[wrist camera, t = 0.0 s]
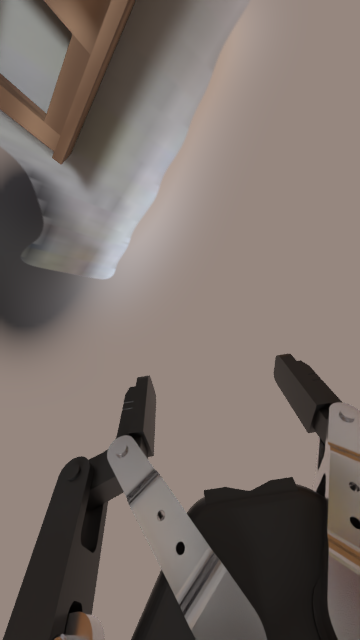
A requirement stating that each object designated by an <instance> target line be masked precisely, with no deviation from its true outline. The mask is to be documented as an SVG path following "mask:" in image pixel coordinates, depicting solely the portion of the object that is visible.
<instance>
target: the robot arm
mask: <svg viewBox="0 0 360 640" xmlns="http://www.w3.org/2000/svg"><path fill="white" fill-rule="evenodd" d="M274 378H275V381H276V383H277V384H278V386H279V388H280V389H281V391H282V392H283V394H284V396H285V397H286V399H287V400H288V402H289V404H290V405H291V407H292V408H293V410H294V411H295V413H296V415H297V416H298V418H299V419H300V421H301V423H302V424H303V426H304V427H305V429H306V430H307V432H308V433H312V432H316V433H317V434H318V436H319V439H318V449H317V461H316V462H317V463H316V473H315V479H314V483H313V490H311V489H309V488H307V487H304V486H301V485H297V484H295V482H294V480H293V477H290V478H283V479H277V480H270V481H268V482H267V483H265V484H263V485H261V486H259V487H257V488H255V489H254V490H251V491H245V490H239V489H233V488H227V487H223V488H217V489H210V490H204V495H205V497H204V498H202V499H200V500H199V501H197V502H196V503H195V504H194V505H193V506H192V507H191V508H190V509H189V511H188V512H187V513H186V512H185V510H184V509H183V507H182V506H181V505H180V503H179V502H178V500H177V499H176V497H175V496H174V494H173V493H172V492H171V490H170V489H169V487H168V486H167V484H166V483H165V482H164V480H163V479H162V477H161V476H160V474H159V473H158V472H157V471H156V470H155V469H154V468H153V467H152V465H151V464H150V462H149V461H148V457H150V456H154V435H155V434H154V433H155V411H156V395H155V391H154V387H153V384H152V381H151V378H150V376H144V377H138V378H137V383H136V386H135V387H130V388H129V390H128V392H127V393H126V395H125V400H124V405H123V411H122V414H121V419H120V424H119V428H118V433H117V437H116V439H115V440H114V441H113V443H112V444H111V445H110V447H109V449H108V450H106V451H105V452H104V453H101V454H99V455H97V456H96V457H93V458H91V459H89V460H88V459H87V458H85V457H77V458H74V459H72V460H71V461H70V462H68V463H67V464H66V465H65V467H64V468H63V469H62V471H61V473H60V475H59V477H58V480H57V483H56V486H55V489H54V492H53V495H52V498H51V501H50V503H49V507H48V509H47V512H46V515H45V518H44V521H43V524H42V527H41V530H40V533H39V536H38V538H37V541H36V544H35V547H34V550H33V553H32V556H31V559H30V562H29V565H28V568H27V571H26V574H25V576H24V579H23V582H22V585H21V588H20V591H19V594H18V597H17V600H16V603H15V606H14V609H13V611H12V614H11V617H10V620H9V623H8V626H7V629H6V632H5V635H4V638H3V640H104V631H103V627H102V624H101V622H100V621H99V619H98V618H97V617H95V616H93V615H92V608H93V601H94V594H95V587H96V581H97V574H98V567H99V560H100V553H101V546H102V539H103V533H104V526H105V519H106V512H107V505H108V501H109V500H111V499H112V498H114V497H116V496H118V495H119V494H121V493H123V492H124V493H125V495H126V497H127V501H128V503H129V505H130V507H131V509H132V511H133V513H134V515H135V517H136V519H137V521H138V523H139V525H140V527H141V529H142V531H143V533H144V535H145V537H146V539H147V541H148V543H149V545H150V547H151V549H152V551H153V553H154V555H155V557H156V559H157V561H158V563H159V565H160V567H161V572H160V574H159V576H158V579H157V581H156V583H155V585H154V588H153V590H152V593H151V595H150V597H149V599H148V602H147V604H146V607H145V609H144V611H143V613H142V616H141V618H140V620H139V622H138V625H137V627H136V630H135V632H134V634H133V636H132V639H131V640H360V411H359V410H358V409H357V408H355V407H353V406H351V405H349V404H346V403H343V402H342V401H340V399H339V398H338V397H337V396H336V395H335V394H334V393H333V392H332V391H331V389H330V388H329V387H328V386H327V385H326V384H325V383H324V382H323V381H322V380H321V379H320V377H319V376H318V375H317V374H316V373H315V372H314V371H313V370H312V368H311V367H310V366H309V365H307V364H305V363H303V362H302V361H296V360H295V359H294V357H293V356H292V355H291V354H284V355H278V356H276V360H275V368H274Z"/></svg>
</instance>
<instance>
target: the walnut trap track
mask: <svg viewBox="0 0 360 640" xmlns="http://www.w3.org/2000/svg"><path fill="white" fill-rule="evenodd" d="M44 1H45V2H46V4H47V5H48V6H49V7H50V8H51V9H52V11H53V12H54V13H55V14H56V15H57V16H58V18H59V19H60V20H61V21H62V22H63V23H64V25H65V26H66V27H67V28H68V29H69V30H70V31H71V33H72V37H71V40H70V43H69V46H68V49H67V52H66V56H65V59H64V62H63V65H62V68H61V71H60V74H59V77H58V80H57V83H56V87H55V90H54V93H53V96H52V99H51V102H50V105H49V108H48V111H47V114H46V113H45V112H44V111H43V110H42V109H40V108H39V107H38V106H37V105H36V104H35V103H33V102H32V101H31V100H30V99H29V98H28V97H27V96H25V95H24V94H23V93H22V92H21V91H20V90H19V89H17V88H16V87H15V86H14V85H13V84H12V83H11V82H9V81H8V80H7V79H6V78H5V77H4V76H3V75H1V74H0V109H1V110H2V111H3V112H5V113H6V114H7V115H9V116H10V117H11V118H12V119H14V120H15V121H16V122H17V123H19V124H20V125H21V126H22V127H24V128H25V129H26V130H28V131H29V132H30V133H31V134H33V135H34V136H35V137H36V138H38V139H39V140H40V141H41V142H43V143H44V144H45V145H47V146H48V147H49V148H50V149H52V150H53V151H54V154H53V157H52V158H53V159H54V160H56V161H57V162H58V163H60V164H62V163H63V162H64V161H65V160H66V159H67V158H68V157H69V155H70V154H71V152H72V150H73V147H74V145H75V143H76V140H77V138H78V135H79V133H80V131H81V128H82V126H83V124H84V121H85V119H86V117H87V114H88V112H89V109H90V107H91V105H92V102H93V100H94V98H95V95H96V93H97V91H98V88H99V86H100V83H101V81H102V79H103V76H104V74H105V72H106V69H107V67H108V65H109V62H110V60H111V57H112V55H113V53H114V50H115V48H116V46H117V43H118V41H119V38H120V36H121V34H122V31H123V29H124V27H125V24H126V22H127V20H128V17H129V15H130V12H131V10H132V8H133V5H134V3H135V1H136V0H44Z"/></svg>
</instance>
